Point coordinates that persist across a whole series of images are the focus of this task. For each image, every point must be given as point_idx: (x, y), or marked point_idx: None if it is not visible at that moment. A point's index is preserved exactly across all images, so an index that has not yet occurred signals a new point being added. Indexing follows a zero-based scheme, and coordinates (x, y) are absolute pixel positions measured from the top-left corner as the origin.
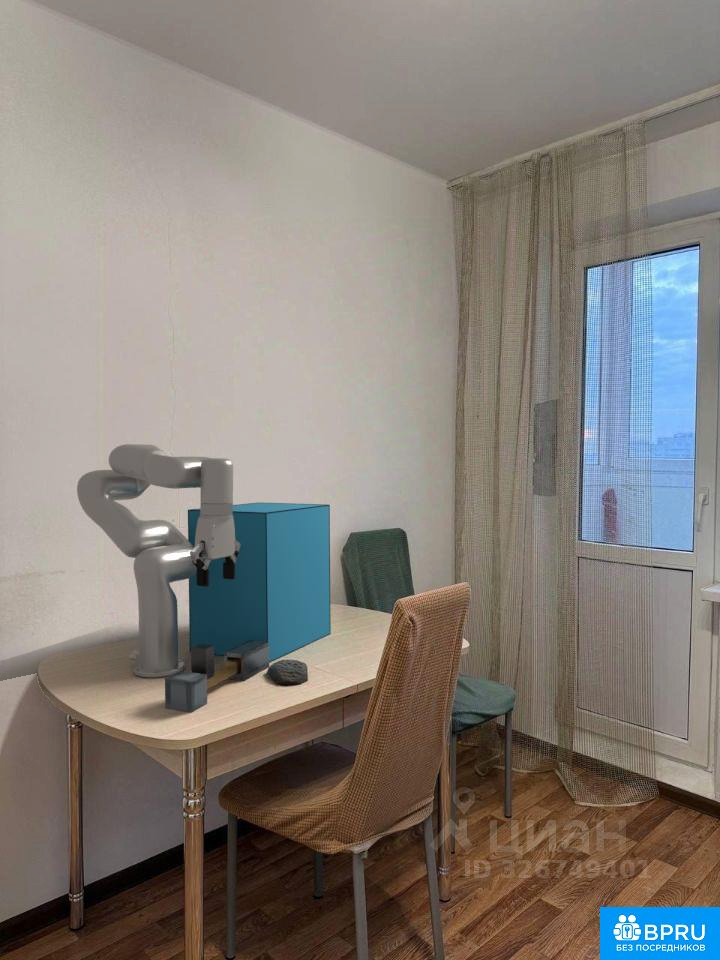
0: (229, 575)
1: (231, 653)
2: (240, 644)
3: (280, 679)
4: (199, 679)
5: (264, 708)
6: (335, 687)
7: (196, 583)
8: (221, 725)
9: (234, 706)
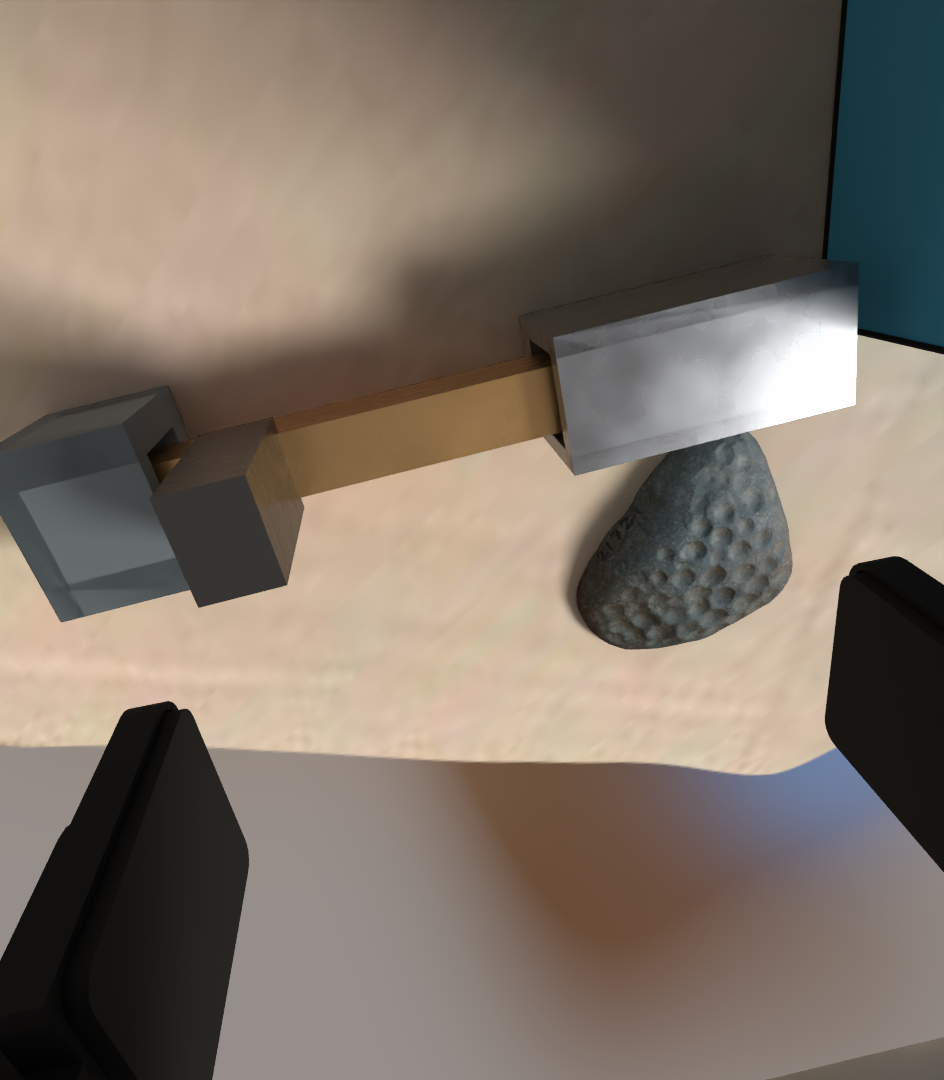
0: (863, 721)
1: (560, 391)
2: (898, 98)
3: (592, 603)
4: (132, 600)
5: (348, 720)
6: (662, 752)
7: (119, 720)
8: None
9: (286, 629)
